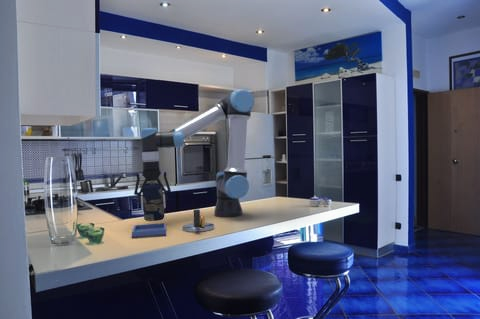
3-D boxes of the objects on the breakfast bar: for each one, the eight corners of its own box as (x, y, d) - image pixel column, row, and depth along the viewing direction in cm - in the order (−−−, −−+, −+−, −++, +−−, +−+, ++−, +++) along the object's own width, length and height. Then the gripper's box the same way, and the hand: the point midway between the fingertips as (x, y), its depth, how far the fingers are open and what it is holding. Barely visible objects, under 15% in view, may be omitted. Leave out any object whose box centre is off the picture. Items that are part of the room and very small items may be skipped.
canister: (159, 222, 170) (157, 183, 169) (140, 222, 171) (138, 183, 171) (167, 218, 179) (165, 181, 178) (149, 218, 181) (147, 181, 180)
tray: (165, 228, 168) (165, 223, 168) (166, 235, 153) (165, 229, 153) (134, 230, 165) (134, 225, 165) (131, 238, 151) (131, 232, 151)
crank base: (212, 224, 174) (211, 210, 173) (216, 230, 160) (215, 215, 160) (181, 226, 171) (181, 212, 171) (183, 233, 157) (182, 218, 157)
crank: (194, 224, 167) (193, 206, 167) (202, 223, 167) (202, 205, 167) (192, 230, 155) (191, 210, 155) (201, 229, 155) (201, 210, 155)
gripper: (174, 159, 180) (177, 205, 181) (127, 162, 176) (130, 209, 176) (175, 159, 173) (177, 207, 174) (125, 162, 168) (128, 211, 169)
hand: (153, 208), depth 175 cm, fingers closed on canister, 9 cm apart
